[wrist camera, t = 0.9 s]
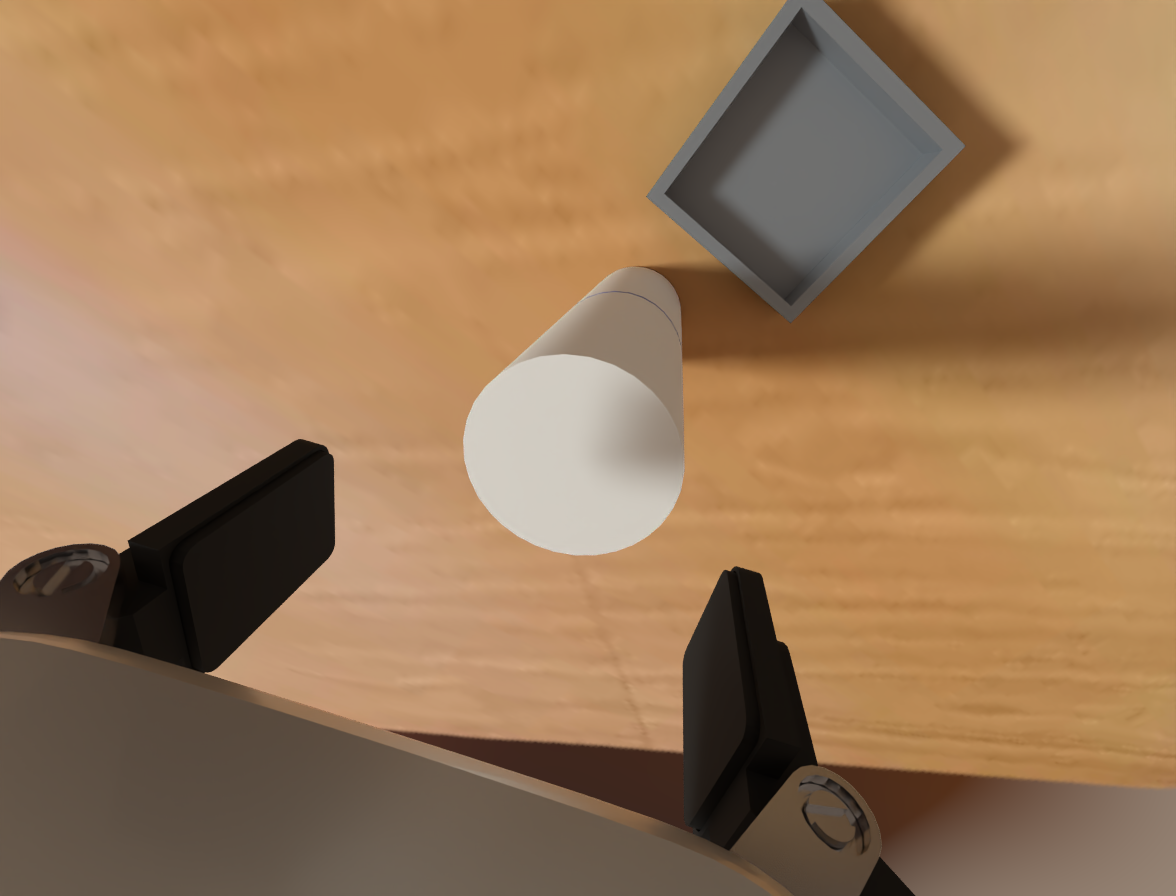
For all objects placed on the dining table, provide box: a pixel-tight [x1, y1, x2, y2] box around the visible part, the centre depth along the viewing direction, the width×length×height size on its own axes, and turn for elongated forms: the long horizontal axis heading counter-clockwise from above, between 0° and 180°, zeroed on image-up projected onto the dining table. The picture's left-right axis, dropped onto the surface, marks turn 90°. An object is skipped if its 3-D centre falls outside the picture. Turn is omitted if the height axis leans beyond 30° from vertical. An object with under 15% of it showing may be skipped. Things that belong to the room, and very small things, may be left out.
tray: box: [646, 0, 965, 323], centre depth 31 cm, size 13×13×4 cm
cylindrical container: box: [463, 267, 685, 555], centre depth 27 cm, size 7×7×25 cm
